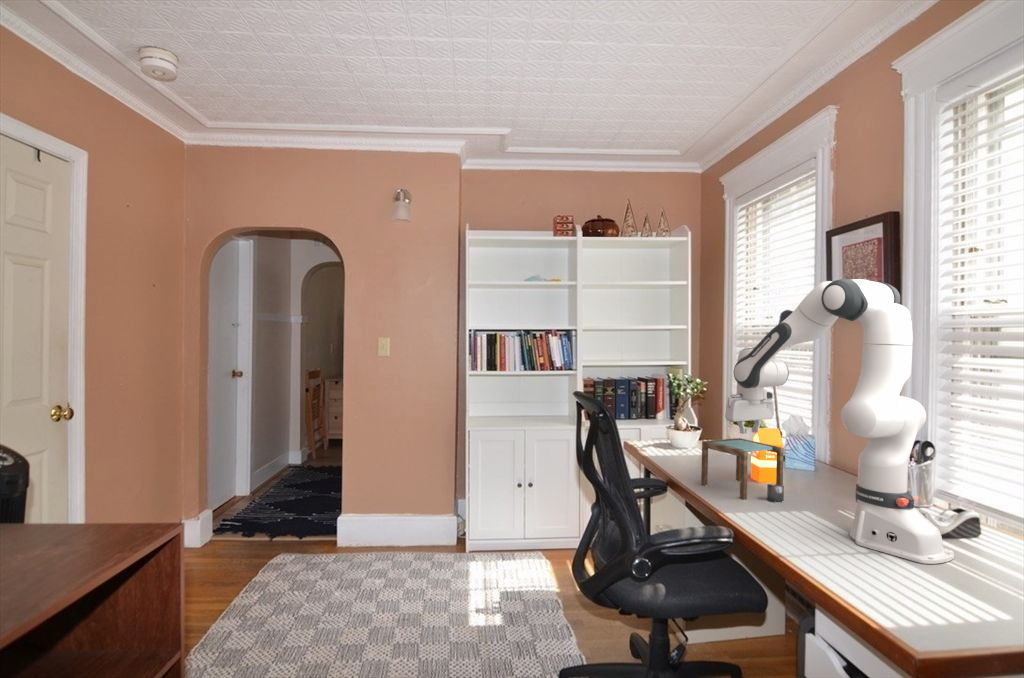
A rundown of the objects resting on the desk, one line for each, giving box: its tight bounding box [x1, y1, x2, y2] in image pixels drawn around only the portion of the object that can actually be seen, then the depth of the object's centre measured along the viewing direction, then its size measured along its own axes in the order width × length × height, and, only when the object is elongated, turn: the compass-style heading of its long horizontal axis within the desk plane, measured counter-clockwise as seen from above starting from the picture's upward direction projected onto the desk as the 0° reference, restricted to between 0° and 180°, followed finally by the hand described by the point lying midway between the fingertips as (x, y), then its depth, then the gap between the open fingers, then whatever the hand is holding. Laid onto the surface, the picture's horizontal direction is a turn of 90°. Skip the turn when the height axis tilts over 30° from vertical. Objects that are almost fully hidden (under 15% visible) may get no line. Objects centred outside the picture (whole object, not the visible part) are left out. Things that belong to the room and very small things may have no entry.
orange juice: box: [750, 427, 784, 484], centre depth 207 cm, size 8×9×20 cm
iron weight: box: [766, 483, 785, 503], centre depth 182 cm, size 5×5×5 cm
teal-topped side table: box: [700, 437, 785, 500], centre depth 195 cm, size 19×19×16 cm
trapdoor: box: [712, 440, 772, 453], centre depth 195 cm, size 14×14×1 cm
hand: (749, 432), depth 192 cm, fingers open, 5 cm apart
